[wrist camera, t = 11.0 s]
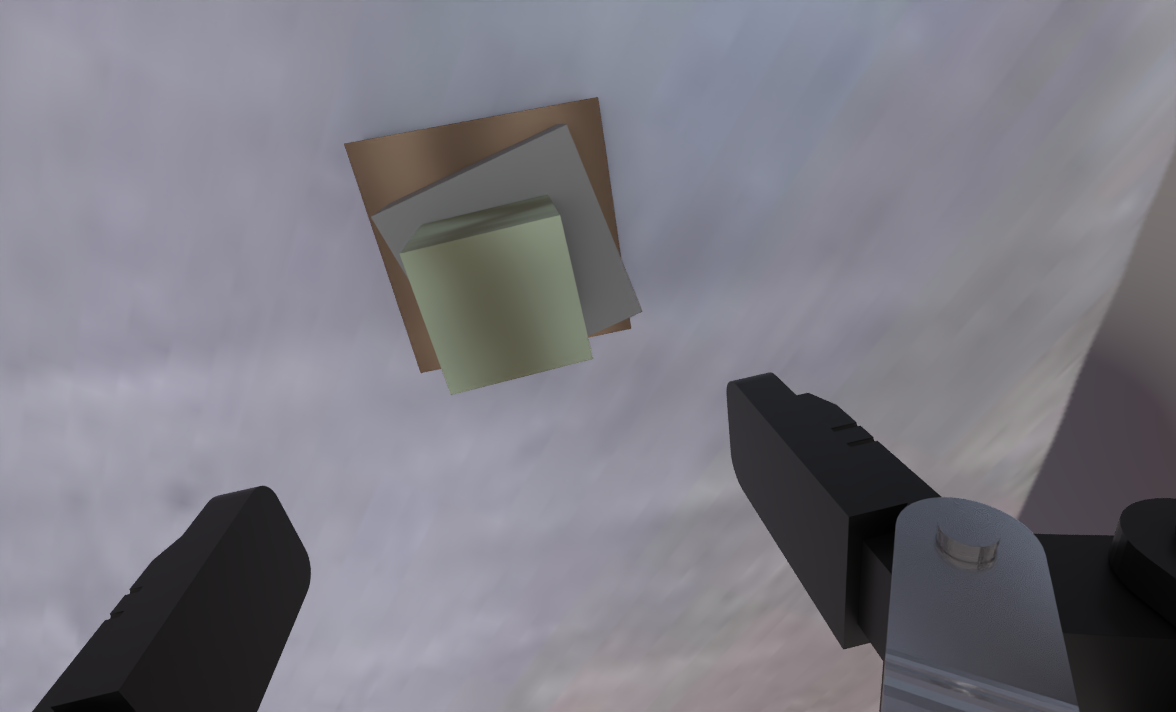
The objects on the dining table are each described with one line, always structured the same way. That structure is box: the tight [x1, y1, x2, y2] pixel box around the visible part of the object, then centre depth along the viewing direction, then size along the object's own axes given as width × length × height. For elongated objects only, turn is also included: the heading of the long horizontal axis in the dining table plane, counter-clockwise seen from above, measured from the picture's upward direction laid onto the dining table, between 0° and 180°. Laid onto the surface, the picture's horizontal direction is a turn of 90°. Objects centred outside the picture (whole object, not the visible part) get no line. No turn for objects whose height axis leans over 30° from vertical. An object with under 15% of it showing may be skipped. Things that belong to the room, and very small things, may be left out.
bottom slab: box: [344, 97, 631, 373], centre depth 30 cm, size 12×12×4 cm
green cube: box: [400, 194, 593, 395], centre depth 22 cm, size 6×6×6 cm
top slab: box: [371, 124, 642, 336], centre depth 26 cm, size 9×9×4 cm
